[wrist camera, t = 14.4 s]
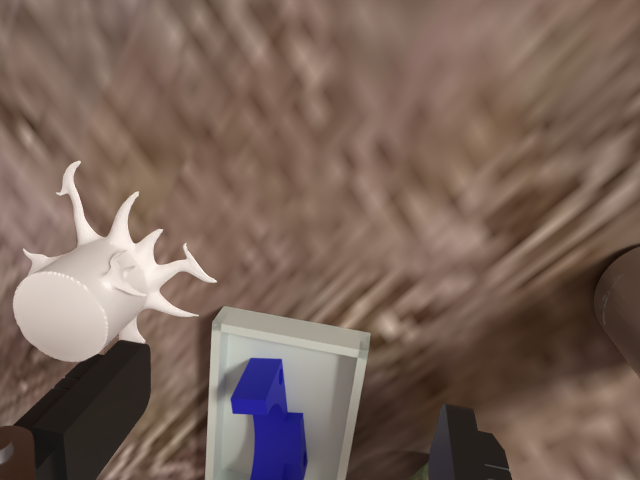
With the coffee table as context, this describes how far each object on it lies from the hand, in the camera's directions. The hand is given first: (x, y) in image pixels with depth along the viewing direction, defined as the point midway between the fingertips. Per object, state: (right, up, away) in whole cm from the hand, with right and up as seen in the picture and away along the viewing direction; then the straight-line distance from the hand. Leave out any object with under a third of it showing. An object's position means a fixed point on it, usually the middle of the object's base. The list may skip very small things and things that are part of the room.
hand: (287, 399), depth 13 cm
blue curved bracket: (-3, -12, +35) cm, 37 cm away
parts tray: (-2, -12, +35) cm, 37 cm away
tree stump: (-19, +1, +34) cm, 38 cm away
